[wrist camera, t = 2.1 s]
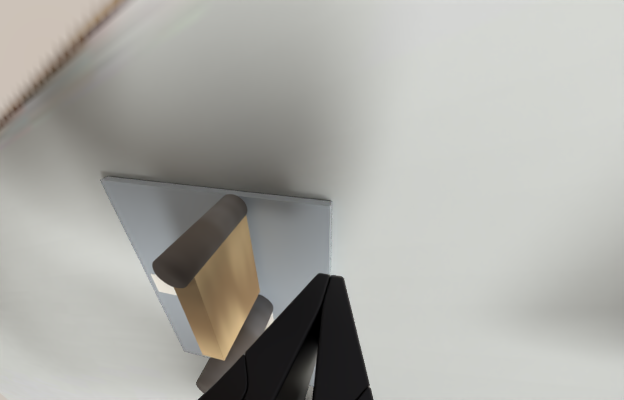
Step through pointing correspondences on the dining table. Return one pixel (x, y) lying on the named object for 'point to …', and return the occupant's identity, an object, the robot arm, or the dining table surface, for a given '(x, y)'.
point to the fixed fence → (238, 343)
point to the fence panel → (213, 275)
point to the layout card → (262, 227)
